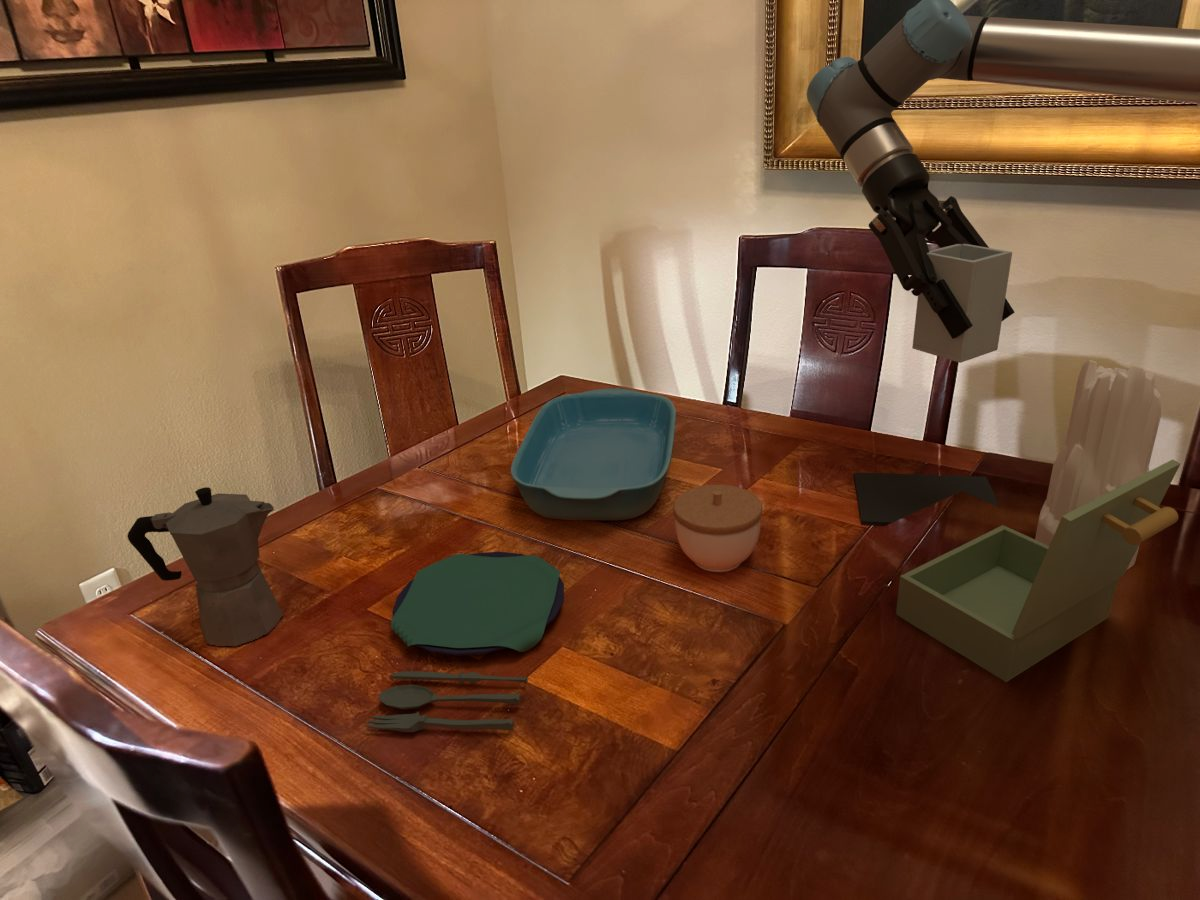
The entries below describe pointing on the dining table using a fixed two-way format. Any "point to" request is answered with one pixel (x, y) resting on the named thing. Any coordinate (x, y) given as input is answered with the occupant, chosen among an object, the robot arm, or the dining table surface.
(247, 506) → the coffeepot
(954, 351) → the container
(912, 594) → the green open box
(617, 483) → the casserole dish
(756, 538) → the trinket box
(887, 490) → the mat
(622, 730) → the dining table surface
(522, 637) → the cutlery set
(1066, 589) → the lid
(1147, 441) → the decorative vase
